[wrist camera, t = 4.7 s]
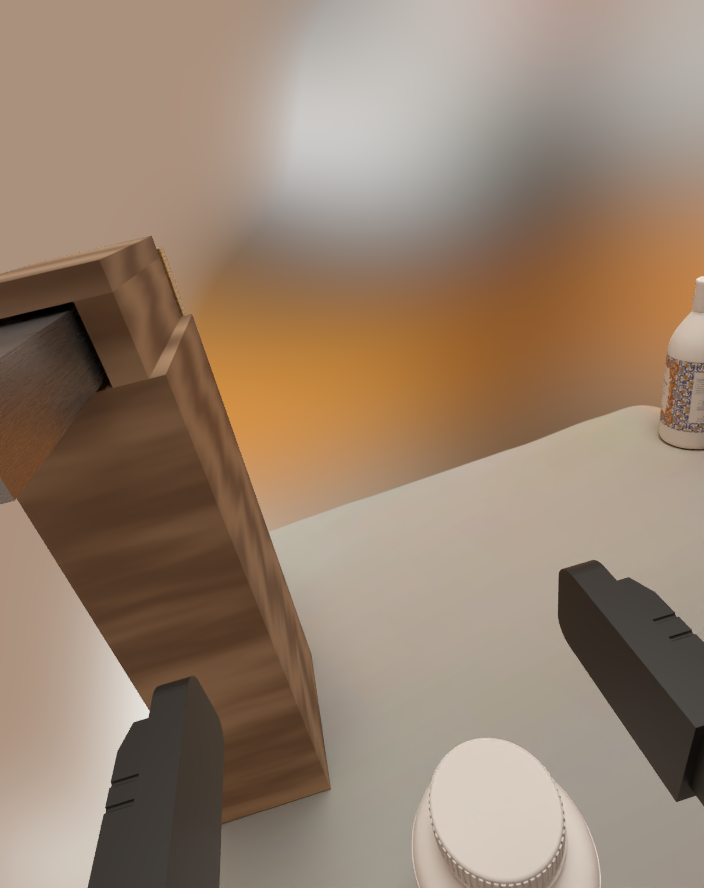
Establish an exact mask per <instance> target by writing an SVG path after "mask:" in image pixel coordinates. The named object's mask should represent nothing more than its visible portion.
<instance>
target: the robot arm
mask: <svg viewBox="0 0 704 888" xmlns="http://www.w3.org/2000/svg"><path fill="white" fill-rule="evenodd" d="M558 619H559V624H560V627H561V630H562V633H563V635H564V637H565V639H566V641H567V643H568V644H569V646H570V647H571V649H572V650H573V652H574V653H575V655H576V656H577V658H578V659H579V661H580V662H581V663H582V665H583V666H584V668H585V669H586V671H587V672H588V674H589V675H590V677H591V678H592V679H593V681H594V682H595V684H596V685H597V687H598V688H599V690H600V691H601V693H602V694H603V696H604V697H605V698H606V700H607V701H608V703H609V704H610V706H611V707H612V709H613V710H614V712H615V713H616V715H617V716H618V717H619V719H620V720H621V722H622V723H623V725H624V726H625V728H626V729H627V731H628V732H629V734H630V735H631V736H632V738H633V739H634V741H635V742H636V744H637V745H638V747H639V748H640V750H641V751H642V752H643V754H644V755H645V757H646V758H647V760H648V761H649V763H650V764H651V766H652V767H653V769H654V770H655V771H656V773H657V774H658V776H659V777H660V779H661V780H662V782H663V783H664V785H665V786H666V788H667V789H668V790H669V792H670V793H671V795H672V796H673V798H674V799H675V801H676V802H678V801H681V800H684V799H687V798H690V797H693V796H697V797H698V799H699V800H700V802H701V803H702V804H703V806H704V642H703V641H702V640H701V639H700V638H699V637H698V636H697V635H696V634H695V635H694V634H693V633H692V630H691V629H690V628H689V627H688V626H687V625H686V624H685V623H684V622H683V621H682V620H681V618H680V617H676V615H675V612H674V611H673V610H672V609H671V608H670V607H669V606H668V605H667V604H666V603H665V602H664V601H663V600H662V599H661V598H660V597H659V596H658V595H657V594H656V593H655V592H654V591H652V590H650V589H648V588H647V587H645V586H643V585H641V584H640V583H638V582H636V581H634V580H633V579H631V578H629V577H628V578H625V579H621V580H618V581H617V580H616V579H615V578H614V577H613V576H612V575H611V574H610V573H609V571H608V570H607V569H606V568H605V567H604V566H603V565H602V564H601V563H600V562H598V561H596V560H592V561H588V562H585V563H581V564H578V565H575V566H571V567H568V568H564V569H562V570H560V572H559V592H558ZM223 764H224V738H223V731H222V726H221V722H220V719H219V717H218V715H217V713H216V711H215V709H214V707H213V706H212V704H211V702H210V700H209V699H208V697H207V695H206V693H205V691H204V690H203V688H202V686H201V684H200V683H199V681H198V679H197V678H196V677H195V676H190V677H187V678H183V679H180V680H177V681H173V682H170V683H166V684H163V685H159V686H157V687H156V688H155V690H154V693H153V696H152V701H151V707H150V713H149V718H147V719H144V720H140V721H137V722H134V723H133V724H132V726H131V728H130V730H129V732H128V734H127V735H126V737H125V739H124V741H123V743H122V745H121V746H120V748H119V750H118V752H117V757H116V761H115V766H114V770H113V775H112V779H111V783H112V786H111V788H109V793H108V798H107V802H106V807H105V808H106V813H105V814H104V816H103V821H102V825H101V830H100V834H99V839H98V843H97V848H96V852H95V857H94V862H93V866H92V871H91V876H90V880H89V884H88V888H219V878H220V849H221V821H222V793H223Z"/></svg>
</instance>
